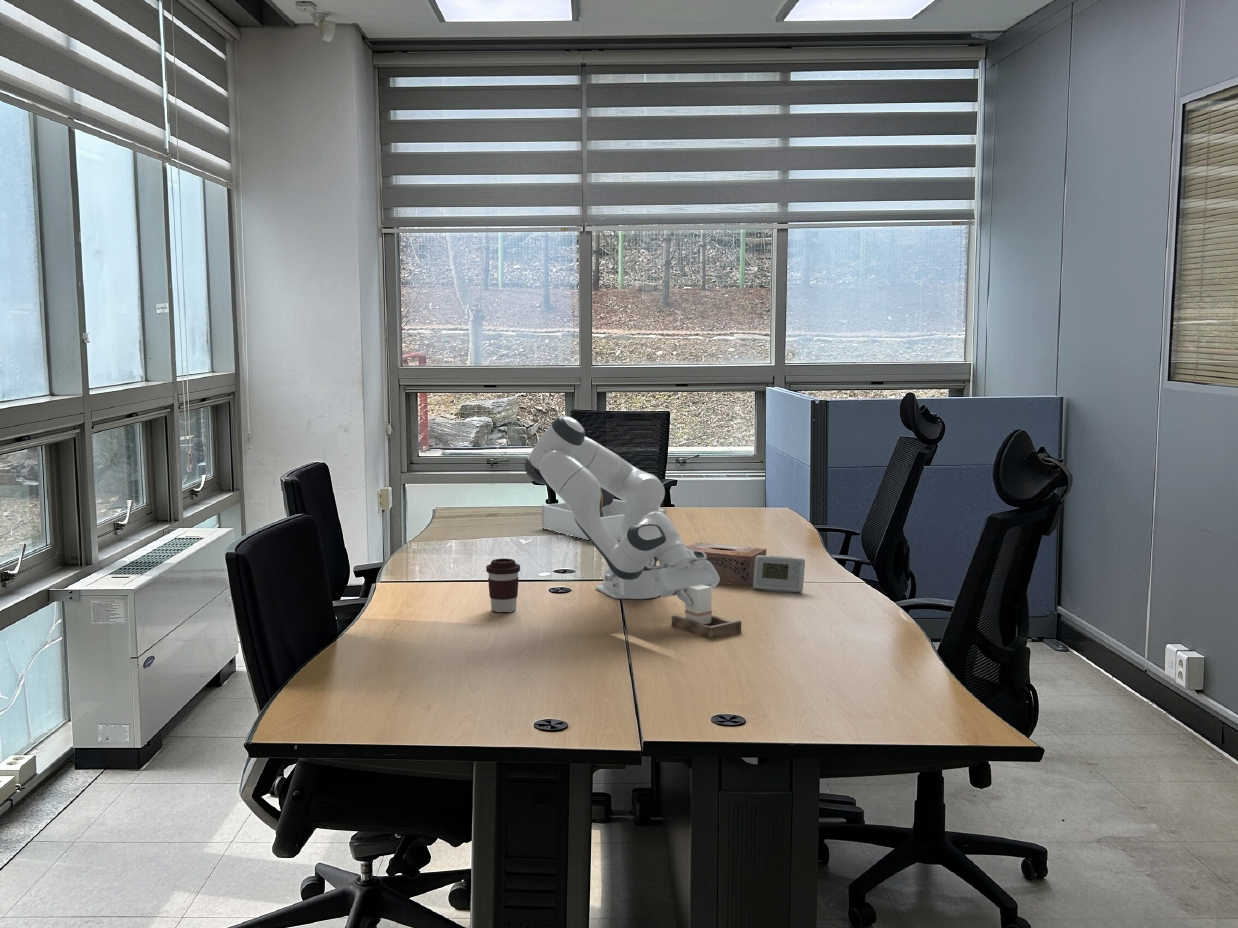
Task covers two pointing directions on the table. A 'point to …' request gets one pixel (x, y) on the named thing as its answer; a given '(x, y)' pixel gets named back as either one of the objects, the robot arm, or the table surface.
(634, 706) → the table surface
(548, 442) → the robot arm
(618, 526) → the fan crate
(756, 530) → the table surface
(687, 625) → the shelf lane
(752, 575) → the tissue box cover
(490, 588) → the coffee cup
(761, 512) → the table surface
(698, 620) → the block
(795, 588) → the digital clock
